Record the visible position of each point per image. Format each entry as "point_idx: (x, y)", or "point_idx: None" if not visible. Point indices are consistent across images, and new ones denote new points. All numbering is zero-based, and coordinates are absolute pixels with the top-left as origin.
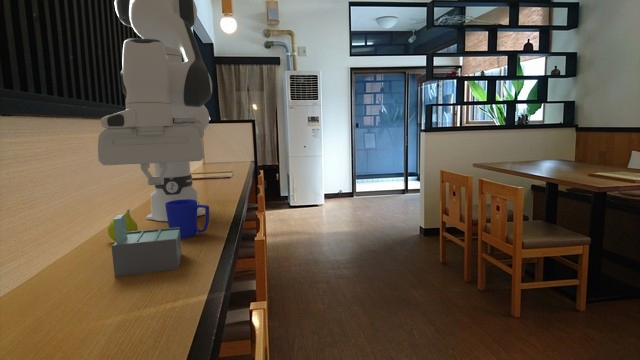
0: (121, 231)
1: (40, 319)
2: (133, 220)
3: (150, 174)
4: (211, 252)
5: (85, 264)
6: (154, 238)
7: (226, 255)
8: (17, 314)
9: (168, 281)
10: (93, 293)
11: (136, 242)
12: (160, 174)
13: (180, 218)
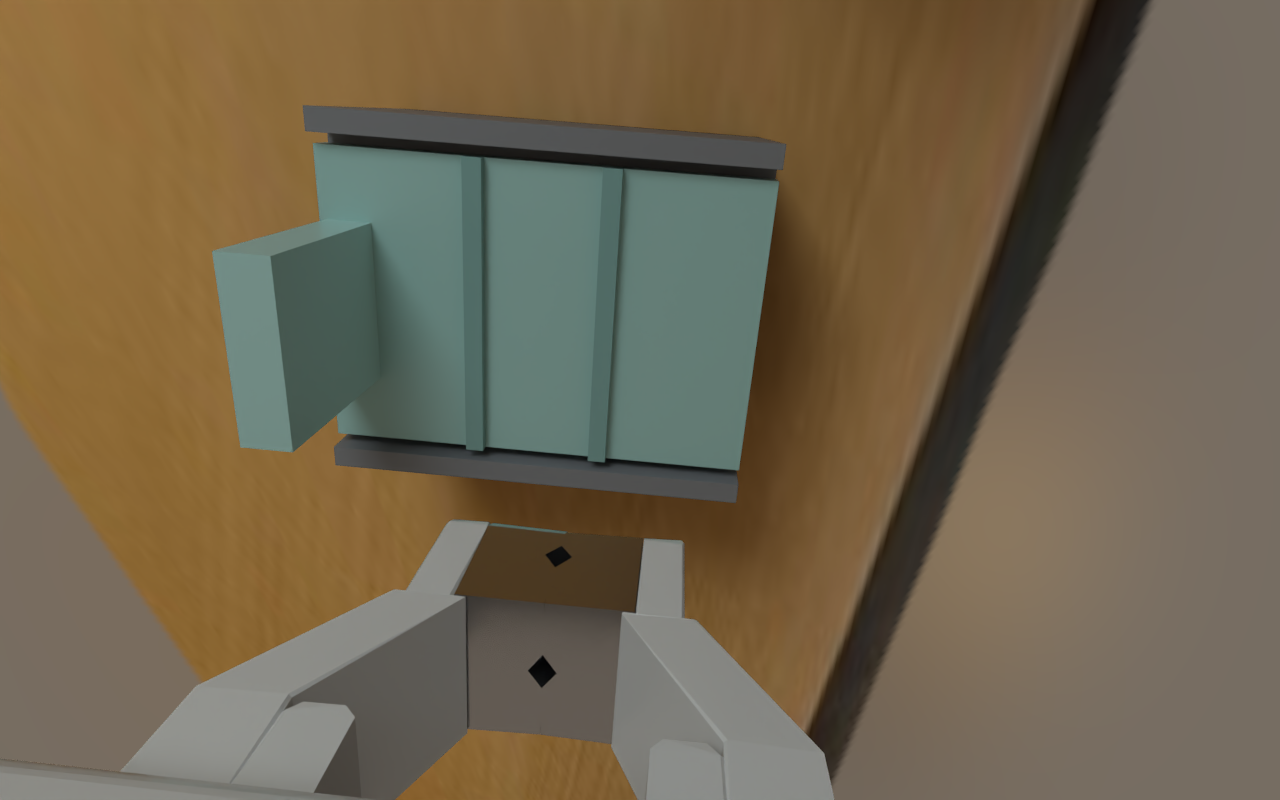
0: (346, 404)
1: (267, 644)
2: None
3: (435, 663)
4: (964, 119)
5: (146, 16)
6: (592, 416)
7: (1039, 235)
8: (161, 577)
9: (675, 503)
10: (369, 502)
11: (484, 468)
12: (637, 785)
13: None
